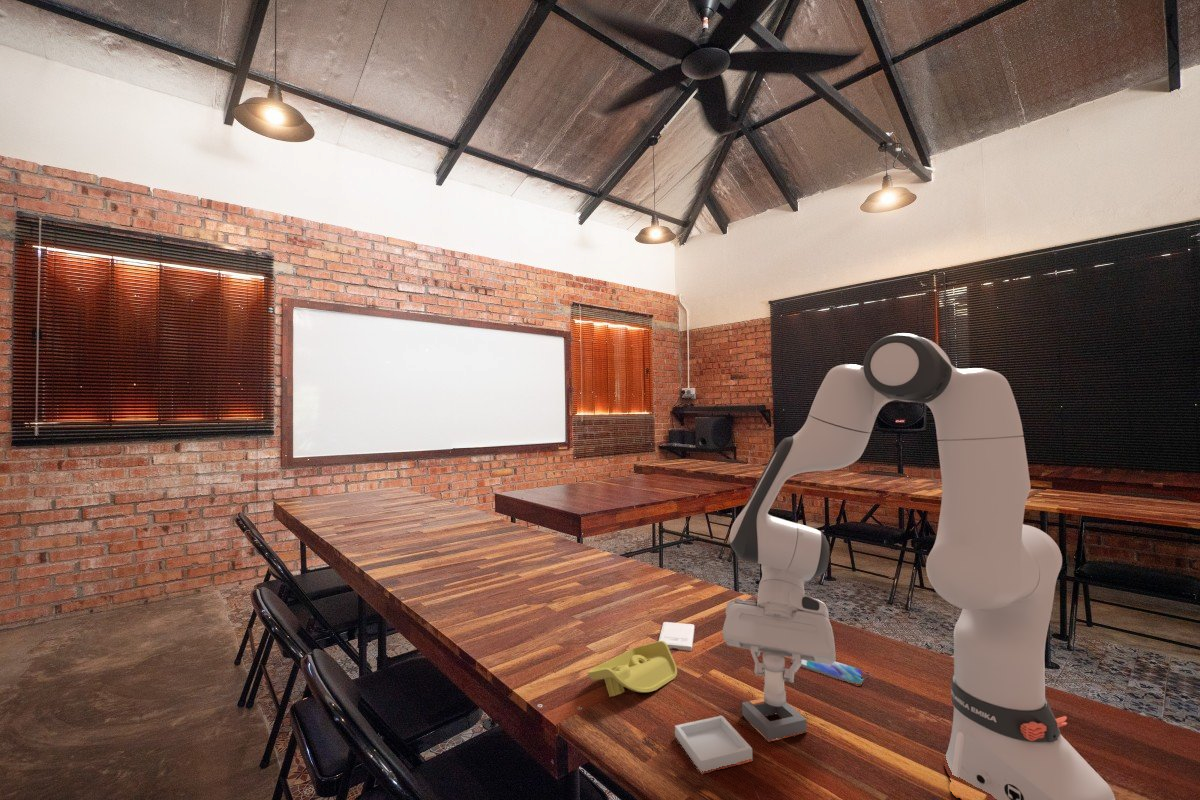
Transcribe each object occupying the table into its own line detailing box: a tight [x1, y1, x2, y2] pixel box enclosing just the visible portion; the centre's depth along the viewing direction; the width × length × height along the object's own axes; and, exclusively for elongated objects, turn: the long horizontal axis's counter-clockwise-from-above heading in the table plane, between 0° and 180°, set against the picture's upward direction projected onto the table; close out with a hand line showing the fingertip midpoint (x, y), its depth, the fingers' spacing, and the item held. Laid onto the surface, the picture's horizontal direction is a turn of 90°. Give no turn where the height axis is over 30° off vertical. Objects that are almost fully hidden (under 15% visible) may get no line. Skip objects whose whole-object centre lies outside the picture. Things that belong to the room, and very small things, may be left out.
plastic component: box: [587, 640, 678, 698], centre depth 108 cm, size 20×7×10 cm
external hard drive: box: [657, 621, 695, 652], centre depth 129 cm, size 2×8×12 cm
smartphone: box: [790, 658, 870, 684], centre depth 113 cm, size 7×1×15 cm
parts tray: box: [674, 714, 753, 772], centre depth 87 cm, size 9×9×2 cm
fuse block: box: [741, 697, 808, 740], centre depth 93 cm, size 8×8×3 cm
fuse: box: [762, 651, 787, 707], centre depth 93 cm, size 4×4×8 cm
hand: (773, 677), depth 93 cm, fingers closed on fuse, 4 cm apart
